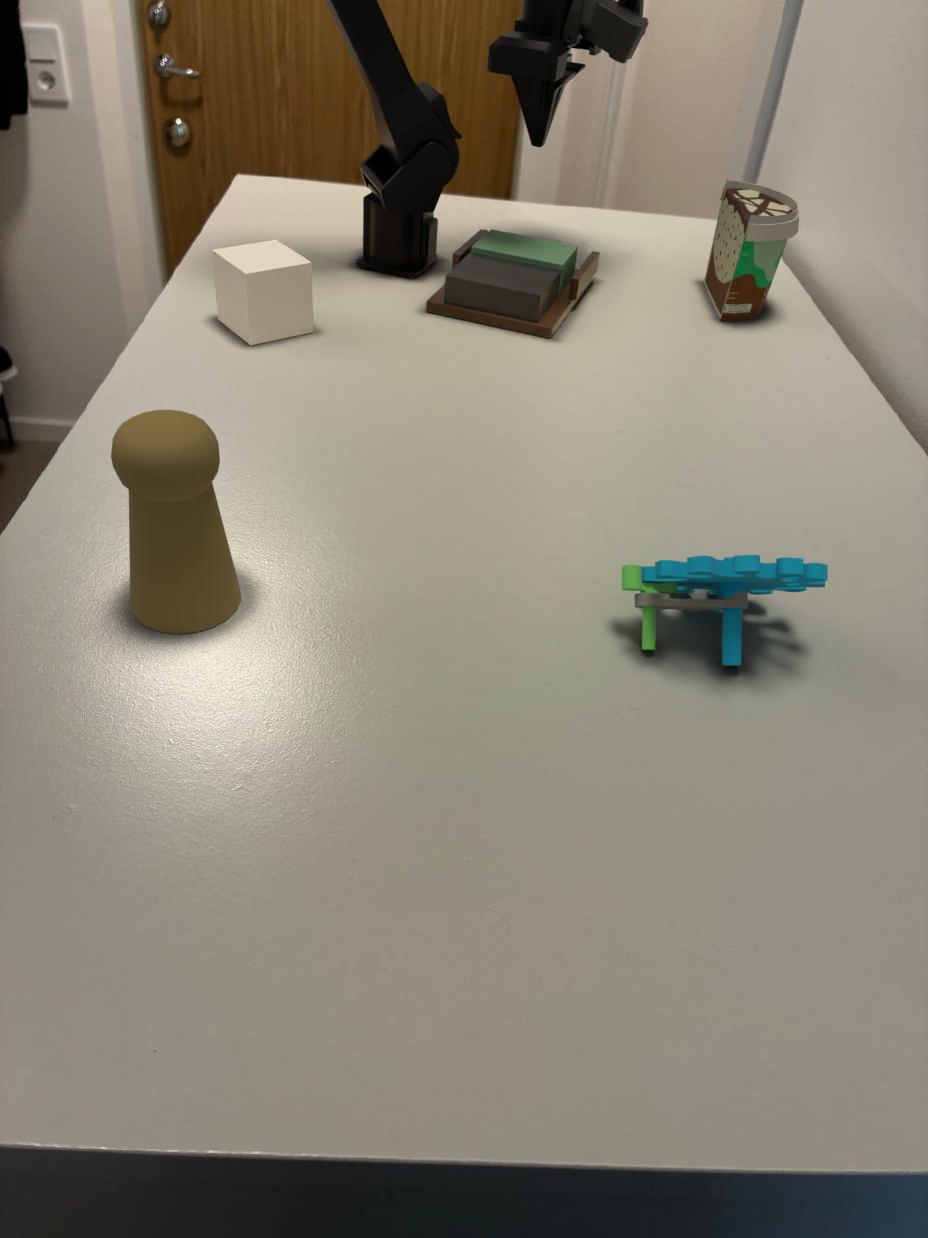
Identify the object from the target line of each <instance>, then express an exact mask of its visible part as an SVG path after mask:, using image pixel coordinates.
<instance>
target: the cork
mask: <svg viewBox="0 0 928 1238" xmlns="http://www.w3.org/2000/svg"><path fill="white" fill-rule="evenodd" d="M111 442H112V443H111V452H110V459H111V463H112V467H113V469H114V472H115V474H116V475H117V478H118V479H119V481H120V483H121V485H122V486H123V487H125V488H126V489H127V490H128V537H129V538H128V539H129V545H128V546H129V608H130V610H131V612H132V614H133V616H134V617H133V618H134V619H135V620H137V621H138V622H139V623H141V624H142V625H143V626H145V627H146V628H149V629H151V630H154V631H156V632H160V633H167V634H175V635H176V634H177V635H182V634H191V633H192V634H193V633H199V632H202V631H206V630H208V629H209V630H210V629H212V628H215V627H216V626H218V625H220V624H223V622H226V621H227V620H229V618H230V617H231V616H232V615H233V614H234V613H236V612H237V610H238V608H239V606H240V604H241V601H242V595H241V594H242V592H241V586H240V583H239V580H238V575H237V572H236V568H235V564H234V561H233V557H232V553H231V548H230V545H229V544H230V543H229V542H228V537H227V532H226V530H225V526H224V523H223V518H222V514H221V511H220V507H219V506H220V505H219V503H218V499H217V495H216V492H215V488H214V484H213V481H214V480H215V478H216V477H217V475H218V473H219V470H220V464H221V458H220V456H221V455H220V445H219V441H218V438H217V435H216V433H215V432H214V431H213V429H212V428H211V427H210V426H209V424H208V423H207V422H206V421H205V420H204V419H203V418H201V417H200V416H197V415H196V414H193V413H189V412H185V411H183V410H176V409H155V410H154V409H153V410H148V411H145V412H141V413H139V414H137V415H136V414H135V415H133V416H132V417H129V418H128V419H126V420H125V421H123V422H122V423H121V424H120V425H119V427H118V428H117V430H116V431H115V432H114V435H113V437H112V441H111Z"/></svg>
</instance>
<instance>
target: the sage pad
mask: <svg viewBox="0 0 928 1238" xmlns="http://www.w3.org/2000/svg"><path fill="white" fill-rule="evenodd" d="M578 251H579V245H575V244H570V243H565V242H560V241H555V240H549V239H545V238H538V237H534V236H533V237H532V236H528V235H524V234H519V233H513V232H508V231H503V230H499V229H494V228H493V229H492V228H490V230H488V233H486V234H485V235H484V236H483V237H482V238H481V239H480V240H479V241H478V242H477V243H475V244H474V245H473V246H472V250H471V252H472V253H477V254H482V255H487V256H492V257H497V258H502V259H507V260H512V261H517V262H522V263H527V264H532V265H537V266H542V267H547V268H552V269H557V270H561V278H560V284H559V291H558V296H559V295H560V293H561V292H562V291H563V290H564V288H565V287H566V286H567V284H568V283H569V282H570V281H571V278H572V277H573V275H574V271H575V268H576V265H577V258H578Z"/></svg>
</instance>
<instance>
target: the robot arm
mask: <svg viewBox="0 0 928 1238" xmlns="http://www.w3.org/2000/svg"><path fill="white" fill-rule="evenodd" d="M324 1H325V3H326V5H327V7H328V10H329V11H330V14H331V16H332V17H333V20H334V22H335V23H336V26H337V28H338V30H339V32H340V34H341V36H342V38H343V40H344V43H345V45H346V46H347V48H348V51H349V53H350V54H351V57H352V59H353V62H354V63H355V65H356V67H357V70H358V72H359V73H360V75H361V77H362V80H363V81H364V84H365V87H366V88H367V90H368V93H369V97H370V102H371V106H372V112H373V117H374V122H375V127H376V130H377V133H378V136H379V139H380V143H379V144H378V145H377V146H376V148H375V149H373V151H372V152H371V153H370V154H369V155H368V156H367V157H366V158H365V159H364V160H363V162H361V164H360V165H359V169H360V172H361V175H362V179H363V182H364V184H365V185H364V186H365V187H366V188H367V189H369V190H370V191H371V192H370V193H368V194H366V195H364V196H363V197H362V255H361V256H359V257H358V258H356V259H355V266H357V267H360V268H365V269H369V270H373V271H374V270H375V271H379V272H384V273H389V274H393V275H399V276H402V277H408V278H417V277H418V276H419V275H421V274H422V273H423V272H424V271H425V270H426V269H427V268H429V267H430V266H431V265H433V263H435V262H436V261H437V259H438V254H437V245H438V232H439V231H438V228H439V219H438V217H435V216H434V213H435V210H436V208H437V205H438V203H439V200H440V198H441V195H442V193H443V190H444V188H445V187H446V186H447V185H448V184H449V183H450V182H452V180H453V178H454V176H455V175H456V173H457V170H458V166H459V164H460V162H461V152H460V149H459V145H458V143H457V140H461V139H462V138H463V135H462V134H461V133H460V131H458V130H457V129H456V128H455V126H454V124H453V122H452V119H451V117H450V113H449V108H448V105H447V101H446V99H445V96H444V95H443V93H441V92H440V91H438V89H436V88H435V87H434V86H433V85H431V84H430V83H428V82H427V81H426V80H422V81H420V83H418V84H417V83H416V82H415V80H414V78H413V77H412V75H411V73H410V71H409V68H408V66H407V64H406V62H405V59H404V57H403V55H402V52H401V51H400V48H399V45H398V44H397V41H396V39H395V37H394V35H393V33H392V30H391V28H390V26H389V24H388V21H387V19H386V17H385V15H384V13H383V10H382V8H381V6H380V3H379V1H378V0H324ZM644 3H645V0H522V6H521V7H522V8H521V9H522V10H521V17H519V18H516V19H514V26H513V27H514V28H513V30H510V31H508V32H506V33H503V34H501V35H499V36H498V37H497V38H496V39H495V40H494V41H493V42H492V43H491V44H490V45H489V46H488V54H487V55H488V56H487V68H486V70H487V72H489V73H492V74H497V75H505V76H510V78H511V81H512V83H513V87H514V90H515V93H516V96H517V99H518V103H519V107H520V110H521V113H522V116H523V120H524V124H525V127H526V130H527V134H528V138H529V141H530V145H531V146H532V147H536V148H543V146H544V145H545V144H546V142H547V139H548V136H549V133H550V129H551V127H552V123H553V121H554V118H555V115H556V112H557V109H558V107H559V103H560V101H561V98H562V95H563V93H564V91H565V88H566V85H568V83H569V82H570V81H571V80H573V79H574V78H575V77H576V76H577V75H578V74H580V73H582V71H583V70H584V69H585V68H586V66H587V65H586V64H585V63H581V62H574V61H573V53H571V51H572V49H576V50H584V51H588V55H589V56H594V57H596V56H597V55H599V54H600V53H601V52H602V51H604V52H605V53H606V54H608V57H609V58H610V59H612V60H614V61H615V62H617V63H618V64H619V63H620V64H626V63H627V62H628V60H631V59H632V58H633V56H634V54H635V52H636V50H637V48H638V46H639V44H640V42H641V40H642V39H643V37H644V36H645V35H646V32H647V31H646V30H647V28H648V26H649V25H650V23H649V19H648V18H647V17H646V16H644V5H645V4H644Z"/></svg>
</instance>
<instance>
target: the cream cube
mask: <svg viewBox="0 0 928 1238" xmlns="http://www.w3.org/2000/svg"><path fill="white" fill-rule="evenodd" d="M211 256H212V268H213V279H214V280H213V281H214V289H215V301H216V312H217V320H218V321H219V322H221V323H222V324H223V325H224V326H225V327H227V328H228V329H229V330H230V331H232V332H233V333H234V334H235V335H237V336H238V337H239V338H241V339H242V340H243V341H244V342H246V343H247V344H248V345H249V346H255V345H260V344H265V343H269V342H274V341H279V340H283V339H288V338H293V337H298V336H302V335H305V334H311V333H314V309H313V308H314V306H313V305H314V303H313V297H314V296H313V263H312V261H310V260H309V259H307V258H305V256H302V255H300V254H299V253H298V252H296V251H295V250H293V249H291V248H290V247H288V246H286V244H283V243H282V242H280V241H279V240H277V239H272V240H265V241H259V242H253V243H245V244H239V245H233V246H228V247H227V246H226V247H220V248H214V249H213V248H212V249H211Z"/></svg>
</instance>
